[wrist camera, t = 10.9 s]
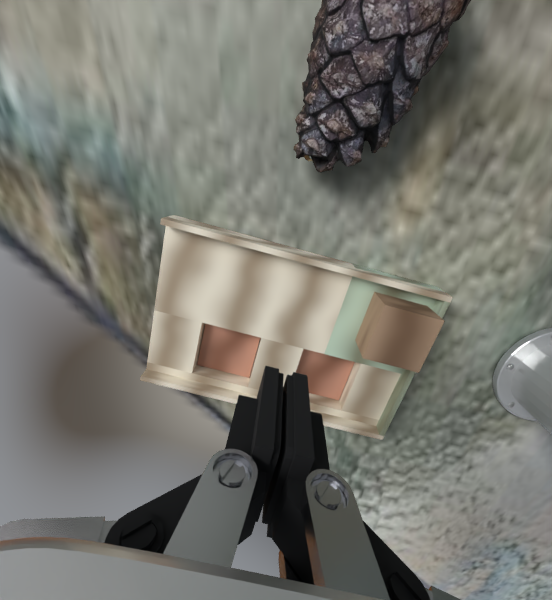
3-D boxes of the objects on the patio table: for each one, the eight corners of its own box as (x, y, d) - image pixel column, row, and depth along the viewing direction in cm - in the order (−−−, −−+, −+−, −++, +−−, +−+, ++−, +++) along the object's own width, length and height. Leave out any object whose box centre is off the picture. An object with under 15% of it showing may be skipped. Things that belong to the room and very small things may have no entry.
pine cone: (281, 164, 31) (277, 154, 22) (338, -68, 25) (366, -220, 16) (380, 192, 32) (418, 194, 22) (459, -30, 26) (557, -156, 16)
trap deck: (437, 286, 35) (452, 297, 31) (374, 419, 41) (382, 439, 38) (174, 215, 33) (161, 218, 30) (152, 364, 40) (140, 380, 36)
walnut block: (427, 305, 33) (444, 320, 30) (405, 353, 35) (418, 372, 32) (374, 291, 33) (384, 304, 29) (355, 340, 35) (362, 358, 31)
